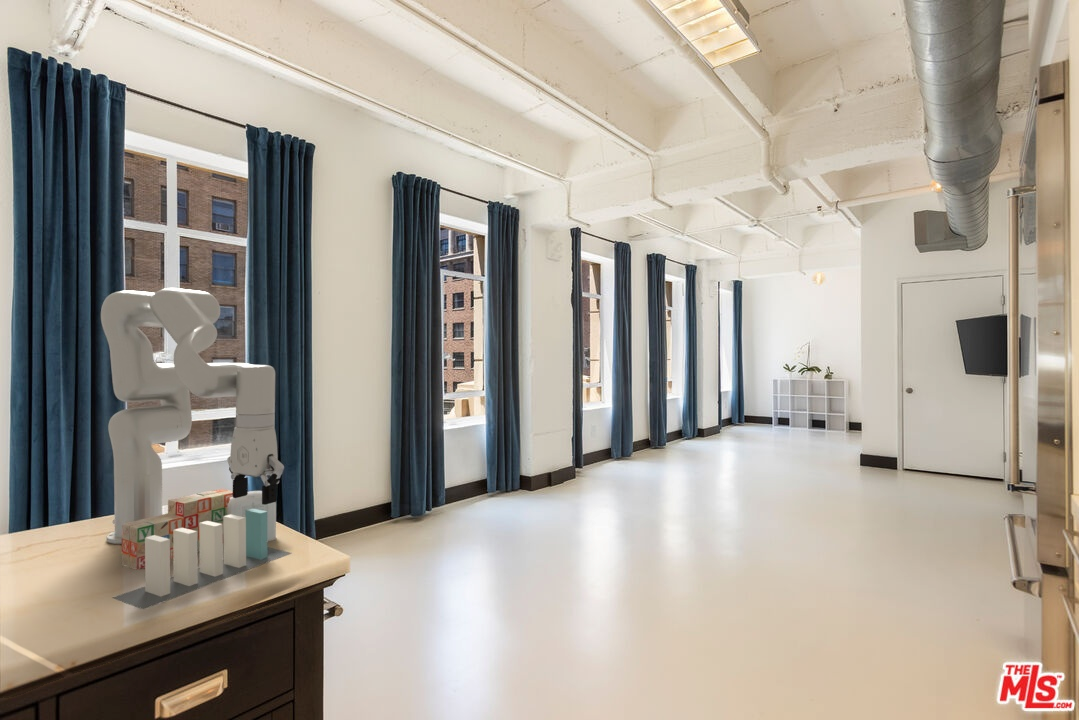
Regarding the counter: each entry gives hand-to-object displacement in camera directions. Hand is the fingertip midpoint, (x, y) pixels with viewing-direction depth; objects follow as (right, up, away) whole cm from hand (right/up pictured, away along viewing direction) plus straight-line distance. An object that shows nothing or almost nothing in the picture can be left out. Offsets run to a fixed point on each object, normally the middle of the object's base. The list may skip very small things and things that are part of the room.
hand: (254, 499), depth 119 cm
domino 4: (-2, -12, -5) cm, 13 cm away
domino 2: (-6, -13, -13) cm, 19 cm away
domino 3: (-4, -12, -9) cm, 16 cm away
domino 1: (-9, -13, -18) cm, 23 cm away
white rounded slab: (-6, -13, +10) cm, 17 cm away
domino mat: (-4, -13, -9) cm, 16 cm away
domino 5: (+1, -12, 0) cm, 12 cm away
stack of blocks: (-18, -13, +4) cm, 23 cm away
